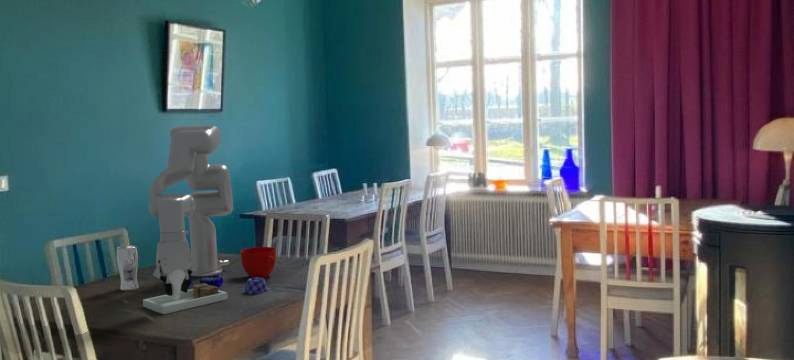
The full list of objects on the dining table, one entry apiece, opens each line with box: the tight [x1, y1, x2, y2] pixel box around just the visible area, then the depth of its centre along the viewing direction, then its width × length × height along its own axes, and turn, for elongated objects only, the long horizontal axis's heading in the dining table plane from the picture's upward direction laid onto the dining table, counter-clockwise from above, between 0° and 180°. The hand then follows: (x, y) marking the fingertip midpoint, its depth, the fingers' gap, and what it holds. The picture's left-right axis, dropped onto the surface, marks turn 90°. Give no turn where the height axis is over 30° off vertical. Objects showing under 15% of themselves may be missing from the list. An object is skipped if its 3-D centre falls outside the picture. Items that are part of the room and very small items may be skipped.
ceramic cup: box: [240, 246, 277, 279], centre depth 264 cm, size 13×17×10 cm
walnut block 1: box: [192, 282, 210, 298], centre depth 234 cm, size 4×4×4 cm
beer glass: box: [116, 244, 139, 292], centre depth 253 cm, size 7×7×15 cm
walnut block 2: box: [200, 285, 219, 297], centre depth 231 cm, size 4×4×4 cm
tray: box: [142, 288, 229, 315], centre depth 228 cm, size 22×14×3 cm, turn 134°
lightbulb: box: [165, 269, 185, 300], centre depth 225 cm, size 6×6×11 cm
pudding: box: [244, 277, 272, 295], centre depth 240 cm, size 12×12×5 cm
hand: (176, 292), depth 226 cm, fingers closed on lightbulb, 4 cm apart
